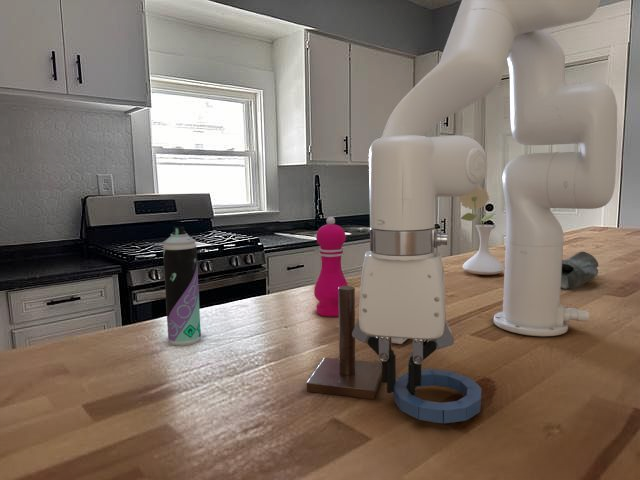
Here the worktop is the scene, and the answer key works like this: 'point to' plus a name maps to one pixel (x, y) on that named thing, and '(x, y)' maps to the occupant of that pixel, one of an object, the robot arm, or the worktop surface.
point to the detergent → (578, 270)
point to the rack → (346, 360)
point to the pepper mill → (330, 268)
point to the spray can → (181, 288)
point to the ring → (436, 410)
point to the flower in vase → (483, 259)
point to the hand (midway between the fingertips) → (401, 388)
